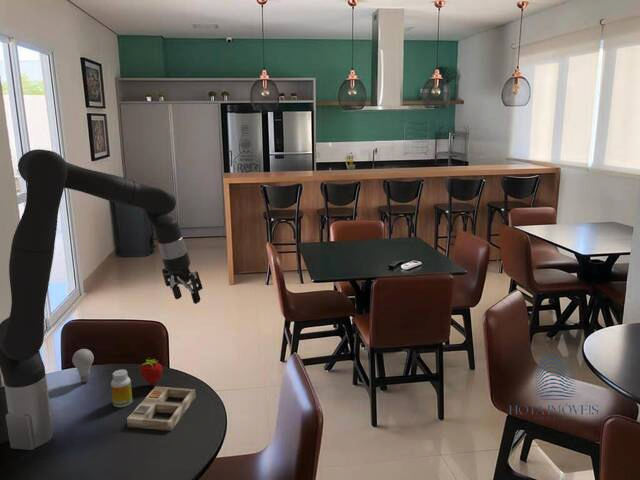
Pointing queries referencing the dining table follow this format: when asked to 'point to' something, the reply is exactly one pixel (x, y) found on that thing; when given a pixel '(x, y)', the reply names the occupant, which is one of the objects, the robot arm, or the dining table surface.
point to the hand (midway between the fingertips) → (187, 300)
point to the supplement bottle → (121, 389)
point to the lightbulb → (83, 363)
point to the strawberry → (151, 371)
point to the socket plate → (161, 408)
